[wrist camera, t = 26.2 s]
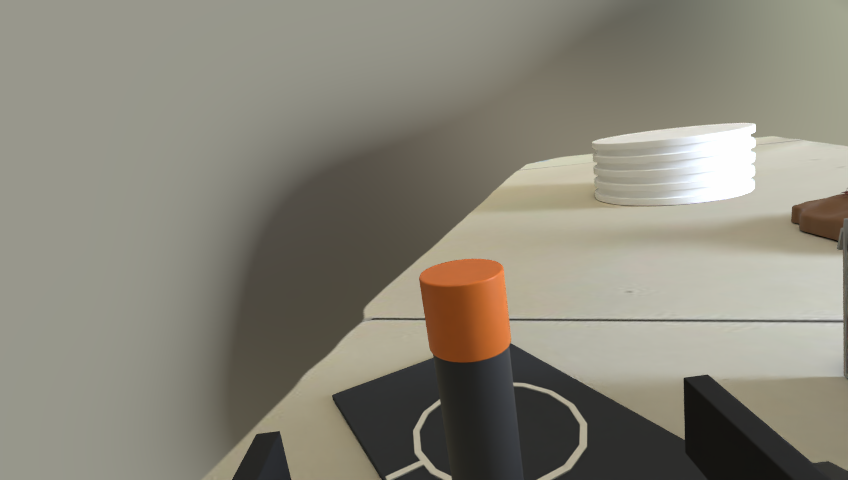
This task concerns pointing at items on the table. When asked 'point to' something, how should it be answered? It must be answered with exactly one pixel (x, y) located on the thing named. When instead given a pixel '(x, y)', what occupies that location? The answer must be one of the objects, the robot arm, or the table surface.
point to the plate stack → (675, 165)
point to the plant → (822, 215)
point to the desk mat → (537, 424)
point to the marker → (473, 367)
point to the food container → (845, 288)
